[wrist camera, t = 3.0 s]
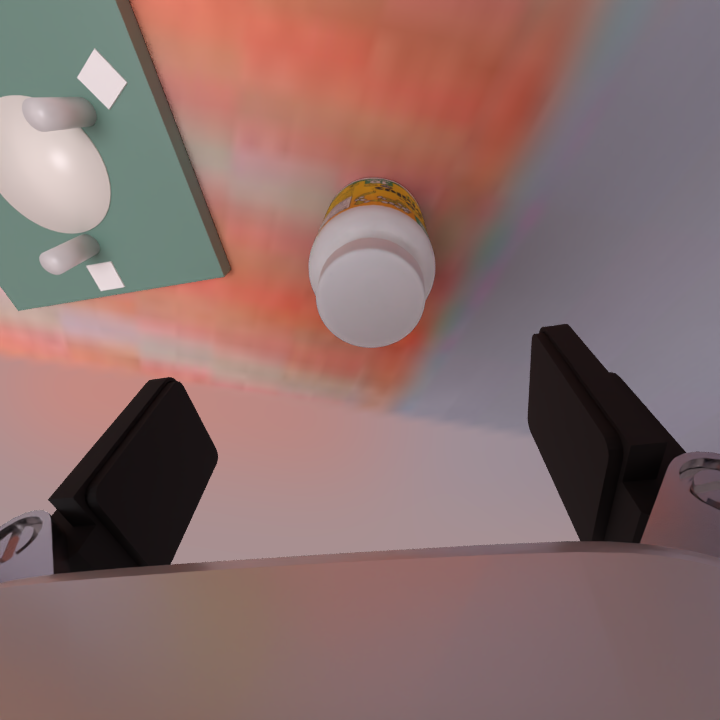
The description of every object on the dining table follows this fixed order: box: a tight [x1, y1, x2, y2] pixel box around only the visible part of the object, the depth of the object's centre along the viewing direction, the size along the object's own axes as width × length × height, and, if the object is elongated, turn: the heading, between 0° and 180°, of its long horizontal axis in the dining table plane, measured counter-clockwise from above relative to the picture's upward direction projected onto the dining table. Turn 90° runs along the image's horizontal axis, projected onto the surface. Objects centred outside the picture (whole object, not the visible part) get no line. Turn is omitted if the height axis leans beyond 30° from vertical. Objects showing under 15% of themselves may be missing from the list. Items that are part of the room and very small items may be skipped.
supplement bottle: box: [309, 177, 435, 348], centre depth 18 cm, size 5×5×10 cm
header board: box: [0, 0, 231, 311], centre depth 20 cm, size 14×14×4 cm
